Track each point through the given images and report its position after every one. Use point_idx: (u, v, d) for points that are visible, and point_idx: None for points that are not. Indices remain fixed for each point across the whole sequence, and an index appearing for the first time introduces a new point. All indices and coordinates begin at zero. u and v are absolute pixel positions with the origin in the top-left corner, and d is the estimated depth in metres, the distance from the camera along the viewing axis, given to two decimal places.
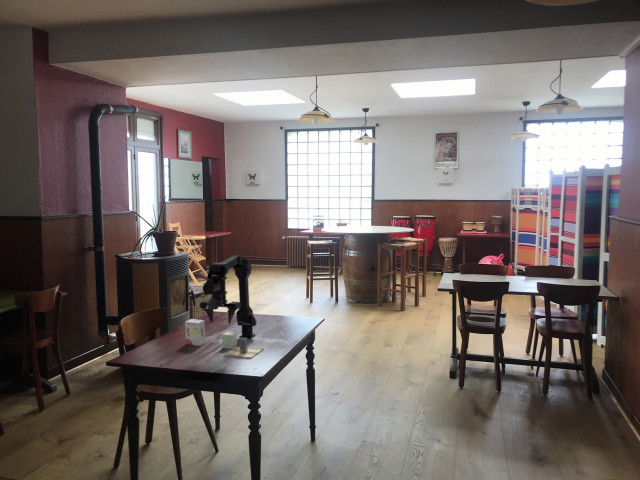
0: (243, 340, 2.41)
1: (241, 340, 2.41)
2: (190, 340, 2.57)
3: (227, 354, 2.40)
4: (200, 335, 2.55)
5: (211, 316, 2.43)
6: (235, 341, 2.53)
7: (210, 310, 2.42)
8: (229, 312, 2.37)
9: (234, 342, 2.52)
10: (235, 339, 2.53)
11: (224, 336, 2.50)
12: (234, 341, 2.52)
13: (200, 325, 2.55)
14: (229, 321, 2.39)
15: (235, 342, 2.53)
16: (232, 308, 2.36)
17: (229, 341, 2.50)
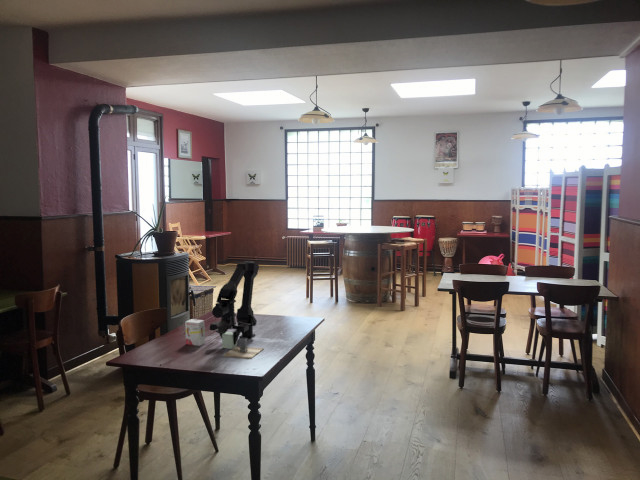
0: (243, 340, 2.41)
1: (241, 340, 2.41)
2: (190, 340, 2.57)
3: (227, 354, 2.40)
4: (200, 335, 2.55)
5: None
6: None
7: (223, 332, 2.53)
8: (234, 334, 2.49)
9: None
10: None
11: (224, 336, 2.50)
12: None
13: (200, 325, 2.55)
14: (234, 342, 2.51)
15: None
16: (241, 330, 2.47)
17: (229, 341, 2.50)
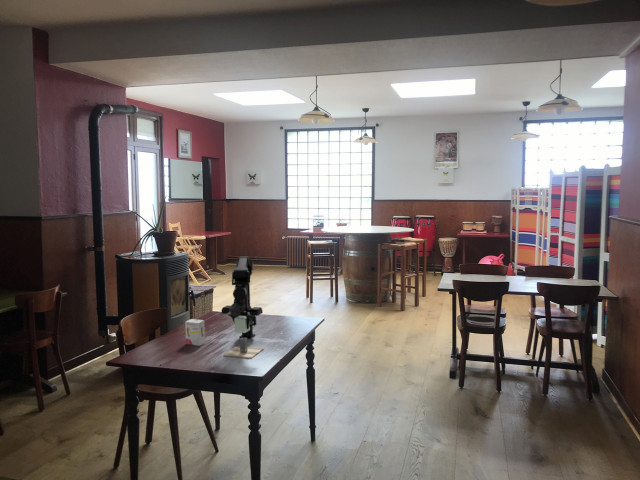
0: (243, 340, 2.41)
1: (241, 340, 2.41)
2: (190, 340, 2.57)
3: (227, 354, 2.40)
4: (200, 335, 2.55)
5: None
6: None
7: (235, 316, 2.42)
8: (248, 317, 2.38)
9: None
10: None
11: (237, 320, 2.39)
12: None
13: (200, 325, 2.55)
14: (247, 326, 2.40)
15: None
16: (254, 313, 2.36)
17: (242, 325, 2.39)
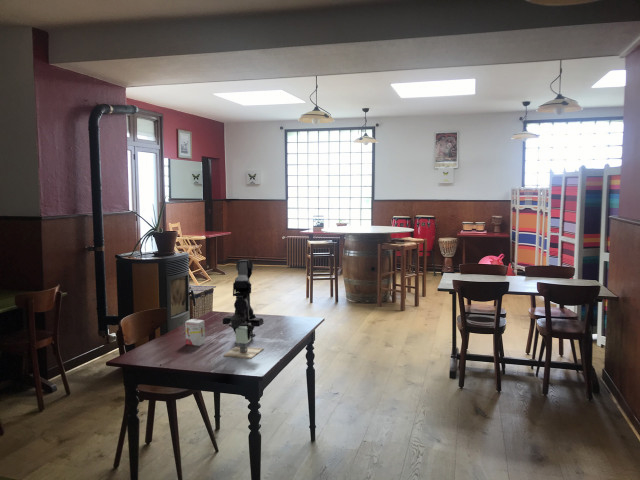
0: None
1: None
2: (190, 340, 2.57)
3: (227, 354, 2.40)
4: (200, 335, 2.55)
5: None
6: None
7: (236, 326, 2.43)
8: (249, 328, 2.38)
9: None
10: None
11: (238, 330, 2.40)
12: None
13: (200, 325, 2.55)
14: (248, 337, 2.41)
15: None
16: (255, 324, 2.36)
17: (243, 336, 2.39)
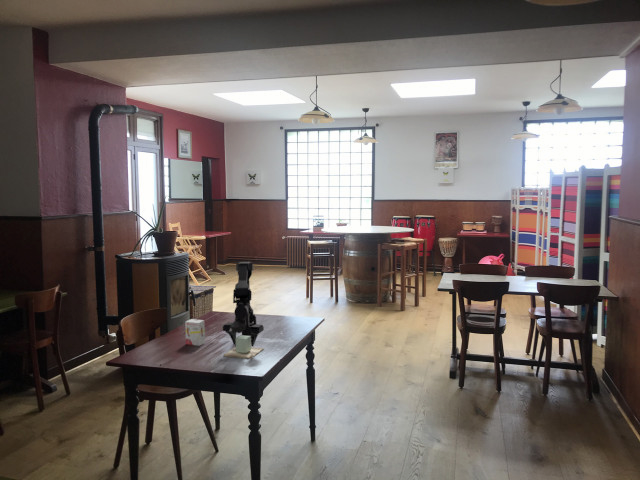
0: None
1: None
2: (190, 340, 2.57)
3: (227, 354, 2.40)
4: (200, 335, 2.55)
5: (234, 339, 2.44)
6: (249, 345, 2.43)
7: (233, 333, 2.43)
8: (252, 335, 2.38)
9: (248, 346, 2.42)
10: (249, 343, 2.43)
11: (238, 340, 2.40)
12: (248, 345, 2.42)
13: (200, 325, 2.55)
14: (252, 344, 2.40)
15: (249, 346, 2.43)
16: (256, 331, 2.37)
17: (243, 345, 2.40)
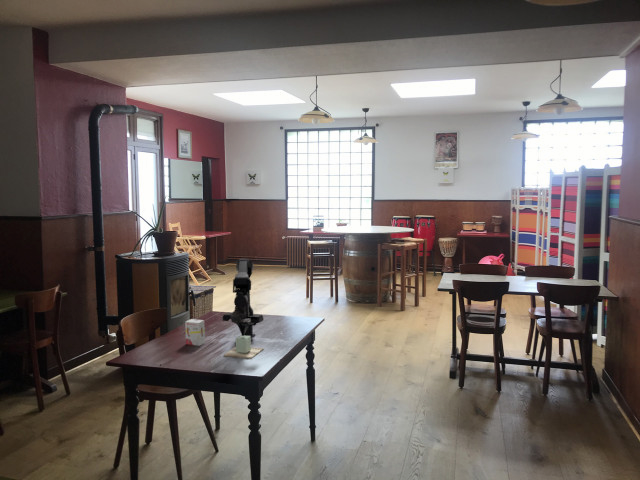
0: None
1: None
2: (190, 340, 2.57)
3: (227, 354, 2.40)
4: (200, 335, 2.55)
5: (242, 329, 2.42)
6: (249, 345, 2.43)
7: (241, 323, 2.42)
8: (243, 324, 2.39)
9: (248, 346, 2.42)
10: (249, 343, 2.43)
11: (238, 340, 2.40)
12: (248, 345, 2.42)
13: (200, 325, 2.55)
14: (243, 333, 2.41)
15: (249, 346, 2.43)
16: (255, 321, 2.36)
17: (243, 345, 2.40)
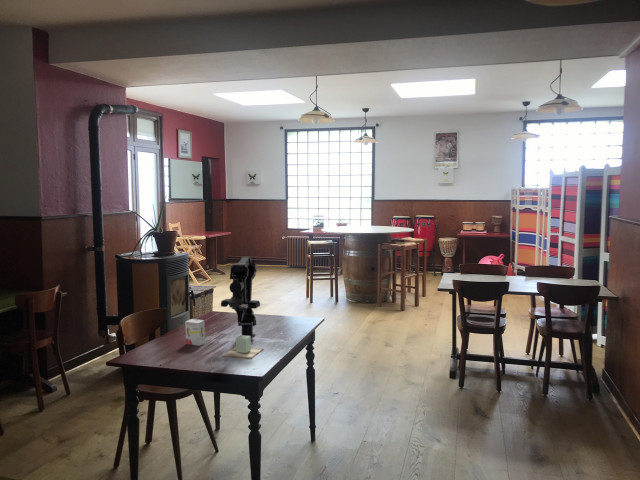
0: None
1: None
2: (190, 340, 2.57)
3: (227, 354, 2.40)
4: (200, 335, 2.55)
5: None
6: (249, 345, 2.43)
7: (239, 309, 2.52)
8: (241, 310, 2.50)
9: (248, 346, 2.42)
10: (249, 343, 2.43)
11: (238, 340, 2.40)
12: (248, 345, 2.42)
13: (200, 325, 2.55)
14: (241, 318, 2.52)
15: (249, 346, 2.43)
16: (252, 306, 2.47)
17: (243, 345, 2.40)
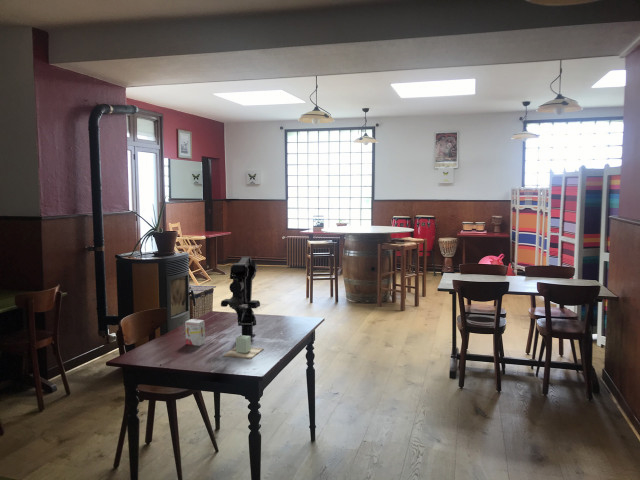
0: None
1: None
2: (190, 340, 2.57)
3: (227, 354, 2.40)
4: (200, 335, 2.55)
5: None
6: (249, 345, 2.43)
7: (239, 309, 2.52)
8: (241, 310, 2.50)
9: (248, 346, 2.42)
10: (249, 343, 2.43)
11: (238, 340, 2.40)
12: (248, 345, 2.42)
13: (200, 325, 2.55)
14: (241, 318, 2.52)
15: (249, 346, 2.43)
16: (252, 306, 2.47)
17: (243, 345, 2.40)
